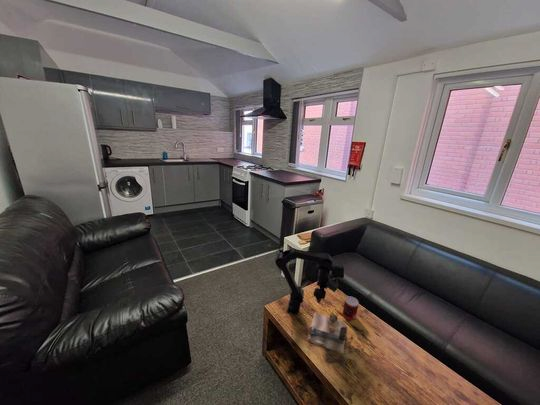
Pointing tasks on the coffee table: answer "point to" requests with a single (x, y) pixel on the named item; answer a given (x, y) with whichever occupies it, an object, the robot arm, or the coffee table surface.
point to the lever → (329, 334)
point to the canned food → (350, 308)
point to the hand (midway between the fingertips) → (320, 297)
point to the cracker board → (323, 324)
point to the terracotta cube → (331, 328)
